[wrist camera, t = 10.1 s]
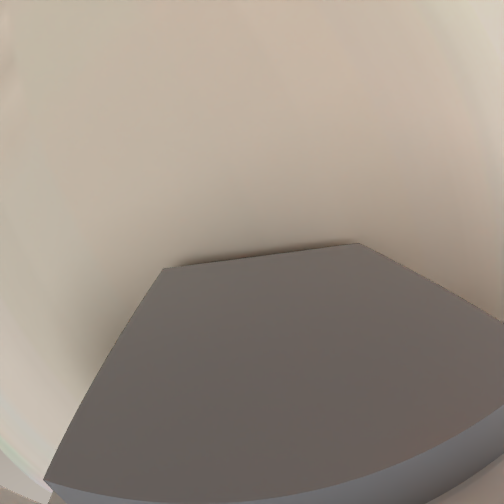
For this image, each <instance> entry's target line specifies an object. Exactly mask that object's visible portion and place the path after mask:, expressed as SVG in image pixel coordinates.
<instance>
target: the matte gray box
mask: <svg viewBox="0 0 504 504" xmlns="http://www.w3.org/2000/svg"><path fill="white" fill-rule="evenodd" d="M503 453H504V323H502V322H501V321H499V320H497V319H496V318H494V317H492V316H491V315H489V314H488V313H486V312H484V311H483V310H481V309H479V308H478V307H476V306H474V305H473V304H471V303H469V302H467V301H466V300H464V299H462V298H461V297H459V296H457V295H455V294H454V293H452V292H450V291H448V290H447V289H445V288H443V287H441V286H439V285H438V284H436V283H434V282H432V281H430V280H429V279H427V278H425V277H423V276H421V275H419V274H418V273H416V272H414V271H412V270H410V269H408V268H406V267H405V266H403V265H401V264H399V263H397V262H395V261H393V260H391V259H389V258H387V257H385V256H384V255H382V254H380V253H378V252H376V251H374V250H372V249H370V248H368V247H366V246H364V245H362V244H360V243H355V244H348V245H340V246H333V247H325V248H318V249H310V250H303V251H295V252H288V253H280V254H273V255H265V256H257V257H250V258H242V259H234V260H227V261H219V262H211V263H203V264H195V265H188V266H180V267H172V268H164V269H163V270H162V271H161V273H160V274H159V276H158V277H157V279H156V280H155V282H154V283H153V285H152V286H151V288H150V289H149V291H148V292H147V294H146V295H145V297H144V298H143V300H142V302H141V303H140V305H139V306H138V308H137V309H136V311H135V312H134V314H133V316H132V317H131V319H130V320H129V322H128V324H127V325H126V327H125V328H124V330H123V332H122V333H121V335H120V336H119V338H118V340H117V341H116V343H115V345H114V346H113V348H112V350H111V351H110V353H109V355H108V356H107V358H106V360H105V362H104V363H103V365H102V367H101V368H100V370H99V372H98V374H97V375H96V377H95V379H94V381H93V382H92V384H91V386H90V388H89V390H88V391H87V393H86V395H85V397H84V399H83V400H82V402H81V404H80V406H79V408H78V410H77V412H76V413H75V415H74V417H73V419H72V421H71V423H70V425H69V427H68V429H67V431H66V433H65V435H64V437H63V439H62V441H61V443H60V445H59V447H58V449H57V451H56V453H55V455H54V457H53V459H52V461H51V464H50V466H49V468H48V470H47V472H46V474H45V477H44V479H43V480H44V481H45V482H46V483H47V484H48V485H49V486H50V487H51V489H52V490H54V491H55V492H56V493H57V494H58V495H59V496H60V497H61V498H62V499H63V500H64V501H65V502H66V503H67V504H426V503H428V502H430V501H431V500H433V499H435V498H437V497H439V496H441V495H442V494H444V493H446V492H448V491H449V490H451V489H453V488H454V487H456V486H458V485H459V484H461V483H463V482H464V481H466V480H467V479H469V478H470V477H472V476H473V475H475V474H476V473H478V472H479V471H480V470H482V469H483V468H485V467H486V466H487V465H489V464H490V463H492V462H493V461H494V460H495V459H497V458H498V457H499V456H501V455H502V454H503Z"/></svg>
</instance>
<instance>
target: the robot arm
mask: <svg viewBox="0 0 504 504" xmlns="http://www.w3.org/2000/svg"><path fill="white" fill-rule="evenodd" d="M0 504H41V503H38V502H36V501H33V500H31V499H28V498H26V497H24V496H22V495H19V494H17V493H15V492H13V491H11V490H8V489H6V488H4V487H2V486H0ZM48 504H67V503H66V502H65V501H64V500H63V499H62V498H61V497H60V496H59V495H58V494H57V493H56V492H55V491H54V490H53V493H52V495H51V497H50V500H49V502H48ZM426 504H504V453H503V454H502V455H501V456H499V457H498V458H497V459H495V460H494V461H493V462H492V463H490V464H489V465H487V466H486V467H485V468H483V469H482V470H480V471H479V472H478V473H476V474H475V475H473V476H472V477H470V478H469V479H467V480H466V481H464V482H463V483H461V484H459V485H458V486H456V487H454V488H453V489H451V490H449V491H448V492H446V493H444V494H442V495H441V496H439V497H437V498H435V499H433V500H431V501H430V502H428V503H426Z"/></svg>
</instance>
